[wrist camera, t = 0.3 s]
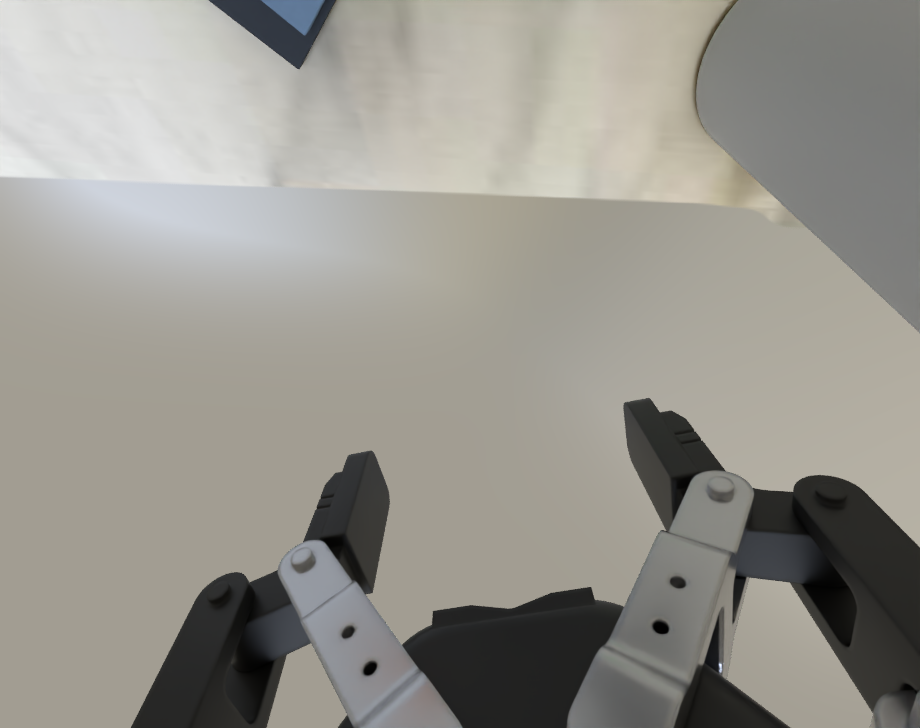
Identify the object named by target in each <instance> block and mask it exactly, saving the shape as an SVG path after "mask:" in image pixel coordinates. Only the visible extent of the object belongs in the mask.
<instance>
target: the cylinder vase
mask: <svg viewBox="0 0 920 728" xmlns="http://www.w3.org/2000/svg"><path fill="white" fill-rule="evenodd" d="M696 104H697V110H698V115H699V118H700V121H701V123H702V125H703V127H704V129H705V131H706V132H707V133H708V135H709V136H710V137H711V138H712V139H713V140H714V141H715V142H716V143H717V144H718V145H719V146H720V147H722V148H723V149H724V150H725V151H726V152H727V153H728V154H729V155H730V156H731V157H732V158H733V159H734V160H735V161H736V162H738V163H739V164H740V165H741V166H742V167H743V168H744V169H745V170H746V171H747V172H748V173H749V174H750V175H751V176H752V177H754V178H755V179H756V180H757V181H758V182H759V183H760V184H761V185H762V186H763V187H764V188H765V189H766V190H767V191H769V192H770V193H771V194H772V195H773V196H774V197H775V198H776V199H777V200H778V201H779V202H780V203H781V204H782V205H783V206H785V207H786V208H787V209H788V210H789V211H790V212H791V213H792V214H793V215H794V216H795V217H796V218H797V219H798V220H799V221H801V222H802V223H803V224H804V225H805V226H806V227H807V228H808V229H809V230H810V231H811V232H812V233H813V234H814V235H816V236H817V237H818V238H819V239H820V240H821V241H822V242H823V243H824V244H825V245H826V246H827V247H828V248H830V250H832V251H833V252H834V253H835V254H836V255H837V256H838V257H839V258H840V259H841V260H842V261H843V262H844V263H845V264H846V265H848V266H849V267H850V268H851V269H852V270H853V271H854V272H855V273H856V274H857V275H858V276H859V277H860V278H861V279H863V280H864V281H865V282H866V283H867V284H868V285H869V286H870V287H871V288H872V289H873V290H874V291H875V292H876V293H877V294H879V295H880V296H881V297H882V298H883V299H884V300H885V301H886V302H887V303H888V304H889V305H890V306H891V307H892V308H894V309H895V310H896V311H897V312H898V313H899V314H900V315H901V316H902V317H903V318H904V319H905V320H906V321H907V322H908V323H910V324H911V325H912V326H913V327H914V328H915V329H916V330H917V331H918V332H919V333H920V0H738V1H737V2H736V3H735V5H734V6H733V7H732V8H731V9H730V11H729V12H728V13H727V15H726V16H725V17H724V19H723V20H722V22H721V23H720V25H719V26H718V28H717V30H716V31H715V33H714V35H713V37H712V39H711V41H710V43H709V45H708V47H707V49H706V52H705V54H704V57H703V60H702V63H701V66H700V70H699V74H698V79H697V87H696Z"/></svg>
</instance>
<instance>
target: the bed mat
mask: <svg viewBox="0 0 920 728" xmlns="http://www.w3.org/2000/svg"><path fill="white" fill-rule="evenodd" d="M209 1H210V2H212V3H213V4H214V5H215V6H217V7H218V8H219V9H221V10H222V11H223V12H224V13H226V14H227V15H228V16H230V17H231V18H232V19H234V20H235V21H236V22H237V23H239V24H240V25H241V26H243V27H244V28H245V29H247V30H248V31H249V32H250V33H252V34H253V35H254V36H256V37H257V38H258V39H260V40H261V41H262V42H263V43H265V44H266V45H267V46H269V47H270V48H271V49H273V50H274V51H275V52H276V53H278V54H279V55H280V56H282V57H283V58H284V59H286V60H287V61H288V62H289V63H291V64H292V65H293V66H295V67H296V68H297V69H300V67H301V66H302V64H303V62H304V60H305V58H306V56H307V54H308V52H309V51H310V49H311V47H312V45H313V43H314V41H315V39H316V37H317V35H318V33H319V31H320V30H321V28H322V26H323V24H324V22H325V20H326V18H327V16H328V14H329V12H330V10H331V9H332V7H333V5H334V3H335V1H336V0H209Z"/></svg>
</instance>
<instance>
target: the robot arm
mask: <svg viewBox="0 0 920 728" xmlns="http://www.w3.org/2000/svg"><path fill="white" fill-rule="evenodd" d="M624 417H625V426H626V427H625V428H626V438H627V446H628V451H629V455H630V458H631V461H632V463H633V465H634V467H635V469H636V471H637V473H638V475H639V477H640V479H641V481H642V483H643V485H644V487H645V489H646V491H647V493H648V495H649V497H650V499H651V501H652V503H653V505H654V507H655V509H656V511H657V513H658V515H659V517H660V519H661V521H662V523H663V525H664V527H665V529H666V531H664V530H661V531H660V532H659V533H658V535H657V537H656V539H655V541H654V543H653V545H652V548H651V550H650V552H649V554H648V556H647V559H646V561H645V563H644V565H643V567H642V569H641V572H640V574H639V576H638V578H637V580H636V582H635V584H634V587H633V589H632V591H631V593H630V595H629V597H628V600H627V602H626V604H625V606H624V607H623V606H621V605H617V604H614V603H611V602H606V601H599V600H595V599H594V596H593V592H592V589H591V587H588V588H581V589H575V590H568V591H561V592H555V593H550V594H548V595H545V596H543V597H540V598H538V599H535V600H533V601H530V602H528V603H525V604H523V605H521V606H518V607H516V608H512V609H505V608H493V607H484V606H483V607H482V606H473V605H470V606H463V607H457V608H450V609H444V610H437V611H433V619H432V625H431V626H428V627H426V628H425V629H423V630H421V631H419V632H418V633H416V634H415V635H413V636H412V637H410V638H409V639H408V640H407V641H406V642H405V643H403V645H401V644H400V642H399V641H398V639H397V638H396V636H395V635H394V634H393V632H392V631H391V630H390V628H389V627H388V626H387V624H386V622H385V621H384V620H383V618H382V617H381V616H380V614H379V613H378V611H377V610H376V609H375V607H374V606H373V604H372V603H371V602H370V600H369V599H368V598H367V596H366V595H365V594H370V593H373V588H374V583H375V578H376V572H377V567H378V562H379V557H380V552H381V547H382V542H383V536H384V531H385V526H386V521H387V516H388V510H389V504H390V501H389V500H390V499H389V491H388V488H387V485H386V482H385V479H384V477H383V474H382V472H381V469H380V467H379V464H378V461H377V459H376V456H375V454H374V452H373V451H367V452H361V453H356V454H351V455H349V456H348V457H347V460H346V463H345V465H344V468H343V471H342V472H339V473H335V474H334V475H333V477H332V478H331V479H330V480H329V481H328V482H327V483H326V485H325V487H324V489H323V492H322V494H321V499H320V500H319V502H318V505H317V509H316V510H315V513H314V515H313V518H312V520H311V523H310V526H309V528H308V531H307V534H306V536H305V539H304V541H303V543H301V544H299V545H297V546H295V547H294V548H292V549H291V550H290V551H289V552H288V553H287V554H286V555H285V556H284V557H283V558H282V560H281V562H280V564H279V566H278V570H277V571H275V572H273V573H271V574H268V575H266V576H264V577H261V578H259V579H257V580H254V581H252V582H250V583H249V581H248V579H247V578H246V576H245V575H244V574H242V573H238V572H234V573H229V574H226V575H223V576H221V577H219V578H217V579H216V580H214V581H213V582H211V583H210V584H209V585H208V586H206V587H205V588H204V589H203V590H202V592H201V593H200V594H199V596H198V597H197V599H196V600H195V602H194V604H193V606H192V608H191V610H190V612H189V614H188V616H187V618H186V620H185V622H184V624H183V626H182V628H181V630H180V632H179V634H178V636H177V638H176V640H175V642H174V644H173V646H172V648H171V650H170V651H169V654H168V655H167V658H166V659H165V661H164V663H163V665H162V667H161V669H160V671H159V673H158V675H157V677H156V679H155V681H154V683H153V685H152V687H151V689H150V691H149V693H148V695H147V697H146V699H145V701H144V703H143V705H142V707H141V709H140V711H139V713H138V715H137V717H136V719H135V721H134V723H133V725H132V726H131V728H266V727H267V723H268V720H269V716H270V712H271V709H272V705H273V702H274V698H275V695H276V691H277V688H278V684H279V680H280V677H281V673H282V669H283V666H284V662H285V659H286V655H287V654H289V653H291V652H293V651H295V650H297V649H299V648H301V647H303V646H306V645H308V644H310V643H311V644H312V646H313V648H314V649H315V652H316V654H317V655H318V657H319V659H320V661H321V663H322V665H323V667H324V669H325V671H326V673H327V675H328V677H329V679H330V681H331V683H332V685H333V687H334V689H335V691H336V693H337V695H338V697H339V699H340V701H341V703H342V705H343V707H344V709H345V711H346V713H347V716H346V717H345V719H344V720H343V721H342V723H341V724H340V725H339V727H338V728H790V727H789V726H787V725H786V724H785V723H783V722H782V721H781V720H779V719H778V718H777V717H775V716H774V715H773V714H771V713H770V712H769V711H768V710H766V709H765V708H764V707H762V706H761V705H760V704H758V703H757V702H756V701H754V700H753V699H752V698H750V697H749V696H748V695H746V694H745V693H743V692H742V691H741V690H740V689H738V688H737V687H736V686H734V685H733V684H732V683H730V682H729V681H728V680H726V679H727V675H728V670H729V665H730V659H731V653H732V646H733V640H734V635H735V631H736V627H737V623H738V620H739V615H740V612H741V608H742V604H743V600H744V597H745V593H746V589H747V585H748V582H749V578H750V577H751V578H758V579H759V578H760V579H767V580H775V581H783V582H790V583H791V585H792V587H793V588H794V590H795V591H796V593H797V594H798V596H799V597H800V599H801V600H802V602H803V604H804V605H805V607H806V608H807V610H808V612H809V613H810V615H811V616H812V618H813V620H814V621H815V623H816V624H817V626H818V627H819V629H820V630H821V632H822V634H823V635H824V637H825V638H826V640H827V642H828V643H829V644H830V646H831V648H832V649H833V651H834V653H835V654H836V656H837V657H838V659H839V660H840V662H841V664H842V665H843V667H844V668H845V670H846V671H847V673H848V674H849V676H850V678H851V679H852V681H853V682H854V684H855V686H856V687H857V689H858V690H859V692H860V693H861V695H862V697H863V698H864V700H865V701H866V703H867V704H868V706H869V708H870V709H871V711H872V712H873V716H872V720H871V725H870V728H920V547H919V546H918V545H917V544H916V543H915V542H914V541H913V540H912V539H911V538H910V537H909V536H908V535H907V534H906V533H905V532H904V531H903V530H902V529H901V528H900V527H899V526H898V525H897V524H896V523H895V522H894V521H893V520H892V519H891V518H890V517H889V516H888V515H887V514H886V513H885V512H884V511H883V510H882V509H881V508H880V507H879V506H878V505H877V504H876V503H875V502H874V501H873V500H872V499H871V498H870V497H869V496H868V495H867V494H866V493H865V492H864V491H863V490H862V489H861V488H859V487H858V486H856V485H855V484H853V483H851V482H849V481H846V480H843V479H840V478H837V477H832V476H824V475H815V476H808V477H805V478H802V479H801V480H799V481H798V482H797V483H796V484H795V486H794V490H793V492H784V491H768V490H760V489H755V488H752V486H751V485H750V484H749V483H748V482H747V481H746V480H745V479H743V478H742V477H740V476H738V475H736V474H733V473H730V472H726V471H725V470H724V468H723V467H722V466H721V464H720V463H719V462H718V460H717V459H716V458H715V457H714V455H713V454H712V453H711V451H710V450H709V449H708V447H707V446H706V445H705V443H704V442H703V441H701V438H700V437H699V436H698V434H697V433H696V432H694V429H693V428H692V426H691V425H690V424H689V422H688V421H687V420H686V419H685V418H684V417H682V416H680V415H678V414H676V413H675V412H673V411H666V412H661V413H660V412H659V411H658V409H657V408H656V406H655V405H654V403H653V402H652V401H651V399H650V398H646V399H641V400H635V401H630V402H625V403H624Z"/></svg>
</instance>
